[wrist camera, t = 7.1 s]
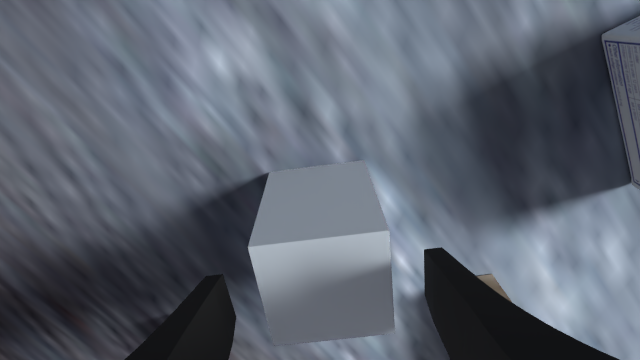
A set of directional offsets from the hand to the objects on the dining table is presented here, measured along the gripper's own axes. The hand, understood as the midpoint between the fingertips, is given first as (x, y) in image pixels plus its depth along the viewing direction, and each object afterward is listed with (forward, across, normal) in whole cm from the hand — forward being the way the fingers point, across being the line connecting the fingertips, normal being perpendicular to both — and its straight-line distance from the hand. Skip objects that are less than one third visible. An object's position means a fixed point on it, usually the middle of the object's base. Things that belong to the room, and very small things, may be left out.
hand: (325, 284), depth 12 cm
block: (+6, 0, 0) cm, 6 cm away
